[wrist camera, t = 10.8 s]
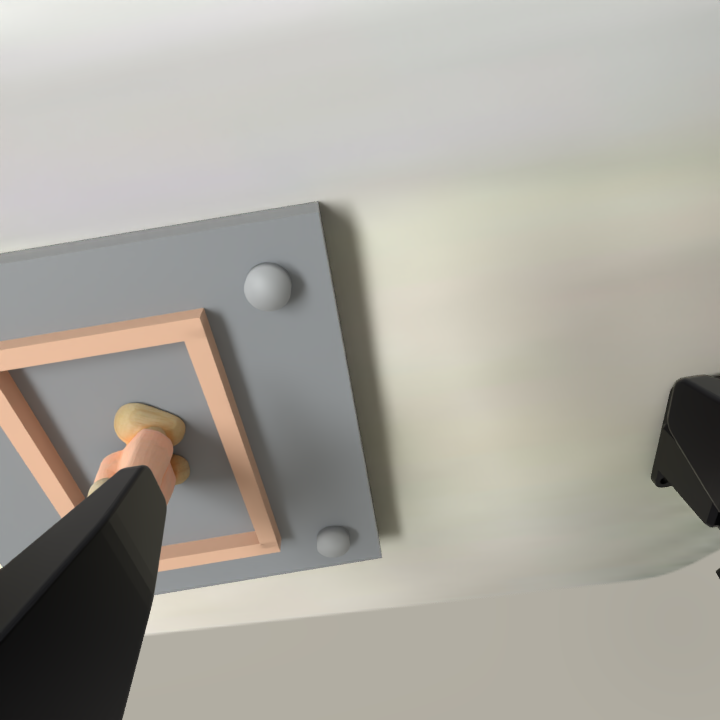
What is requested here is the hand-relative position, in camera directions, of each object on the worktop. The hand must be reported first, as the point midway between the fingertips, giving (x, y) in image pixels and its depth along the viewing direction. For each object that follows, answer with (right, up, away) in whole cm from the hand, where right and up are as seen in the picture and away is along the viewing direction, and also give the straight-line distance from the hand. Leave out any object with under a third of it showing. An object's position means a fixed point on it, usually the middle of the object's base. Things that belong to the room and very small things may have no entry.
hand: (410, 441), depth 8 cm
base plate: (-10, -2, +14) cm, 17 cm away
